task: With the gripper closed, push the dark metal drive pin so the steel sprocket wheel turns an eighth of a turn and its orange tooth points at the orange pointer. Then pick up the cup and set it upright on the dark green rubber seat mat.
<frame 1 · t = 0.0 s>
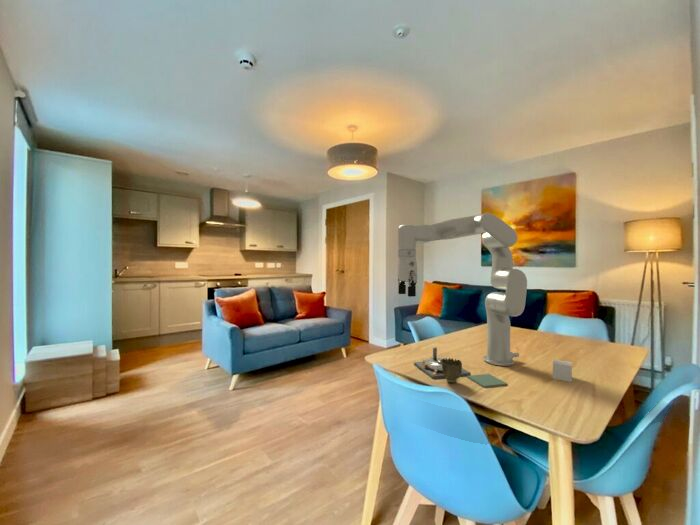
hand: (406, 295, 127), 31 cm above the table, tool pointing down, fingers open, 9 cm apart
grey cube: (562, 378, 118), on the table
cup: (451, 382, 113), on the table
sprocket wheel: (440, 358, 127), point 5 cm above the table, hinge at 0.0°
index board: (440, 369, 127), on the table
seat mat: (486, 381, 115), on the table
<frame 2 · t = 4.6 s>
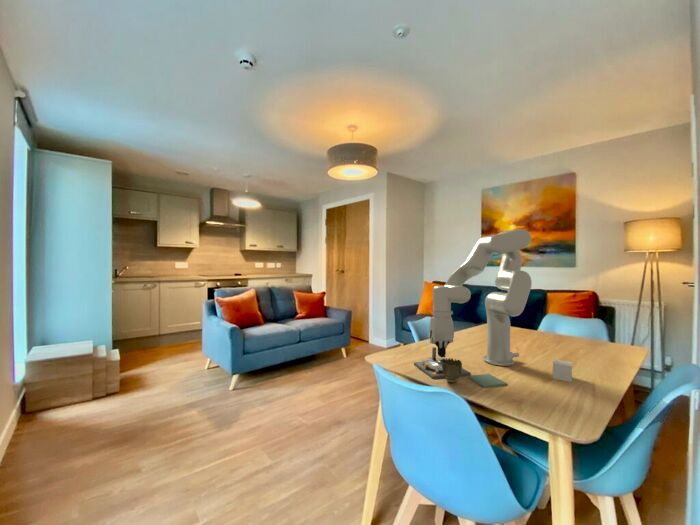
hand: (441, 356, 132), 4 cm above the table, tool pointing down, fingers closed
sprocket wheel: (440, 358, 127), point 5 cm above the table, hinge at 4.3°, touching gripper
everything else where it was.
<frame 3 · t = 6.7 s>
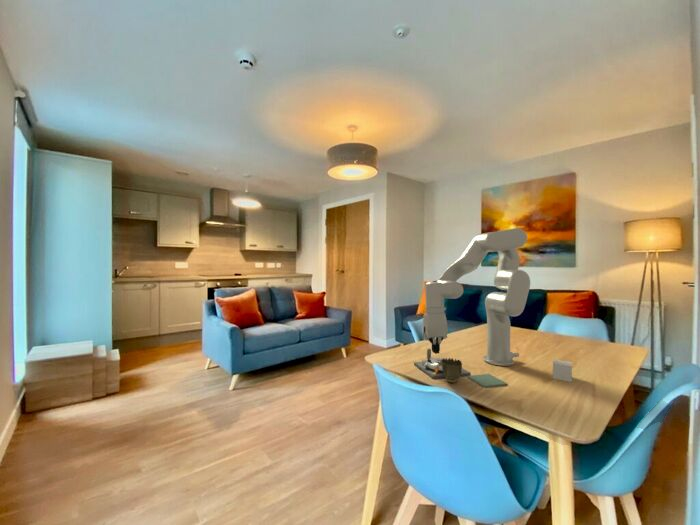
hand: (435, 352, 131), 6 cm above the table, tool pointing down, fingers closed
sprocket wheel: (440, 358, 127), point 5 cm above the table, hinge at 47.8°
everything else where it was.
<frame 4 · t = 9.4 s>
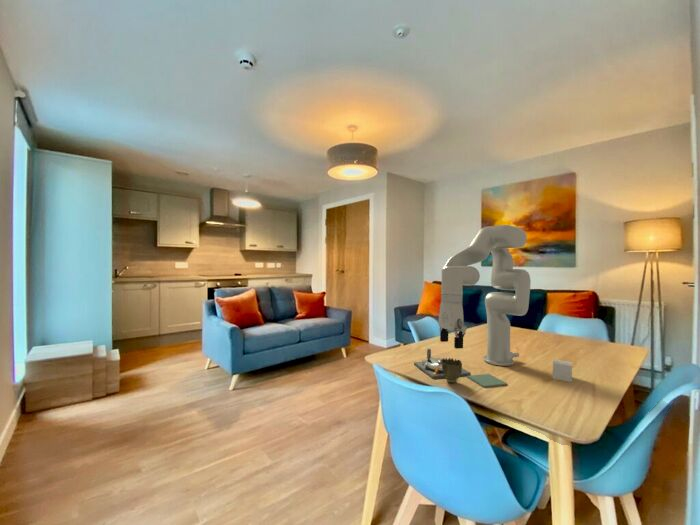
hand: (451, 344, 113), 14 cm above the table, tool pointing down, fingers open, 9 cm apart
nothing on the table moved.
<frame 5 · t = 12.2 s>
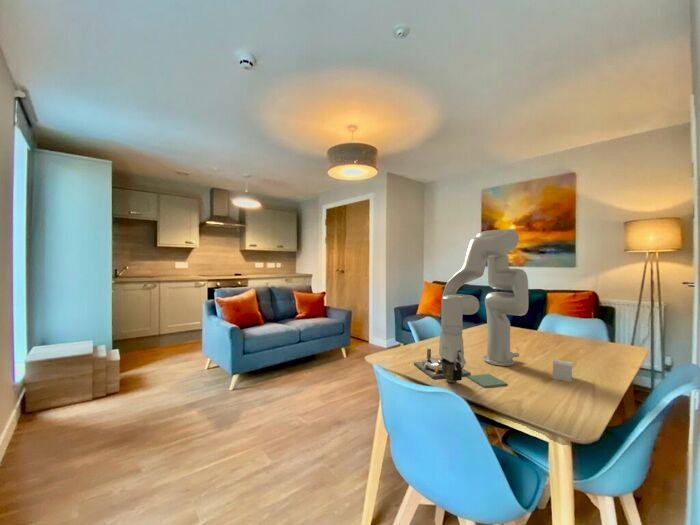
hand: (451, 376, 113), 2 cm above the table, tool pointing down, fingers closed on cup, 6 cm apart
cup: (451, 382, 113), on the table, touching gripper
everything else where it was.
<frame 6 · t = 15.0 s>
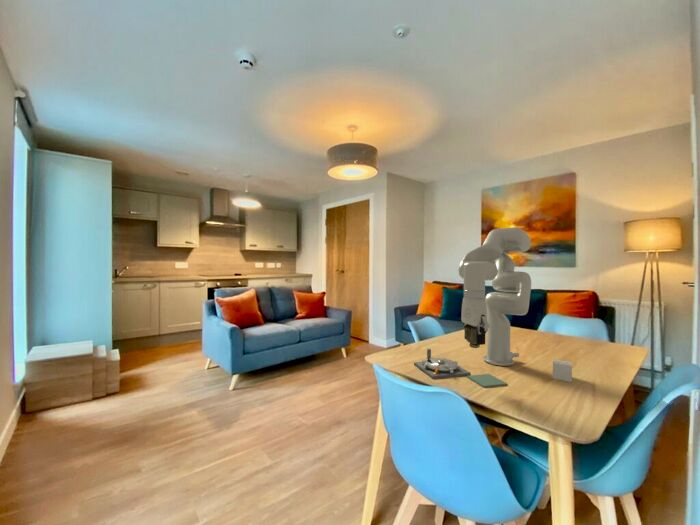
hand: (474, 341, 115), 15 cm above the table, tool pointing down, fingers closed on cup, 6 cm apart
cup: (474, 347, 115), point 13 cm above the table, touching gripper
everything else where it was.
when the fingers open (4 cm above the table, at t = 18.1 s): cup drops 1 cm, resting on seat mat.
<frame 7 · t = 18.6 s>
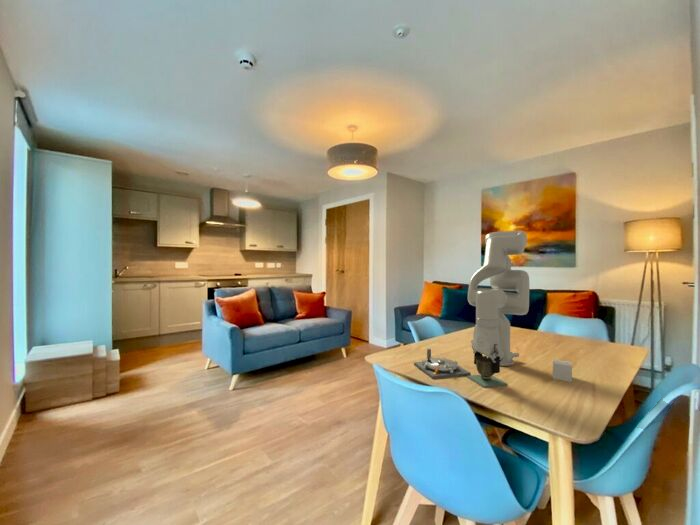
hand: (486, 368, 115), 5 cm above the table, tool pointing down, fingers open, 9 cm apart
cup: (485, 379, 115), resting on seat mat
everything else where it was.
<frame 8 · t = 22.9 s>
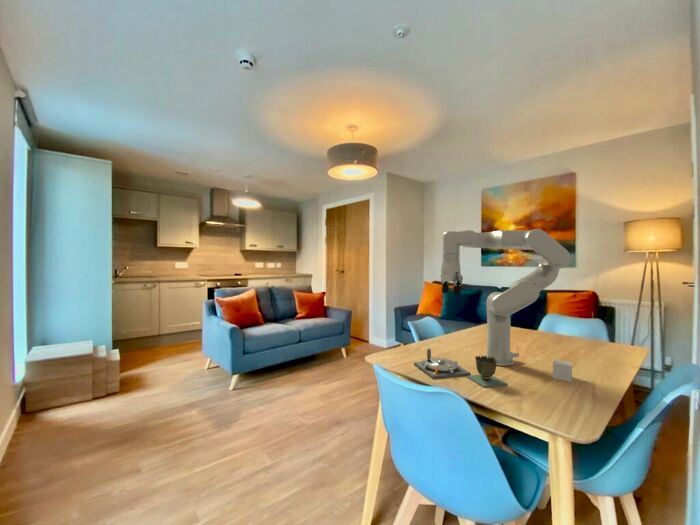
hand: (451, 293, 143), 30 cm above the table, tool pointing down, fingers open, 9 cm apart
nothing on the table moved.
at the end: sprocket wheel at +48° (first picture: +0°); cup 0.3 cm off-centre on the seat mat, point 0.4 cm above the seat mat's base; cup tilted 0° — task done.
